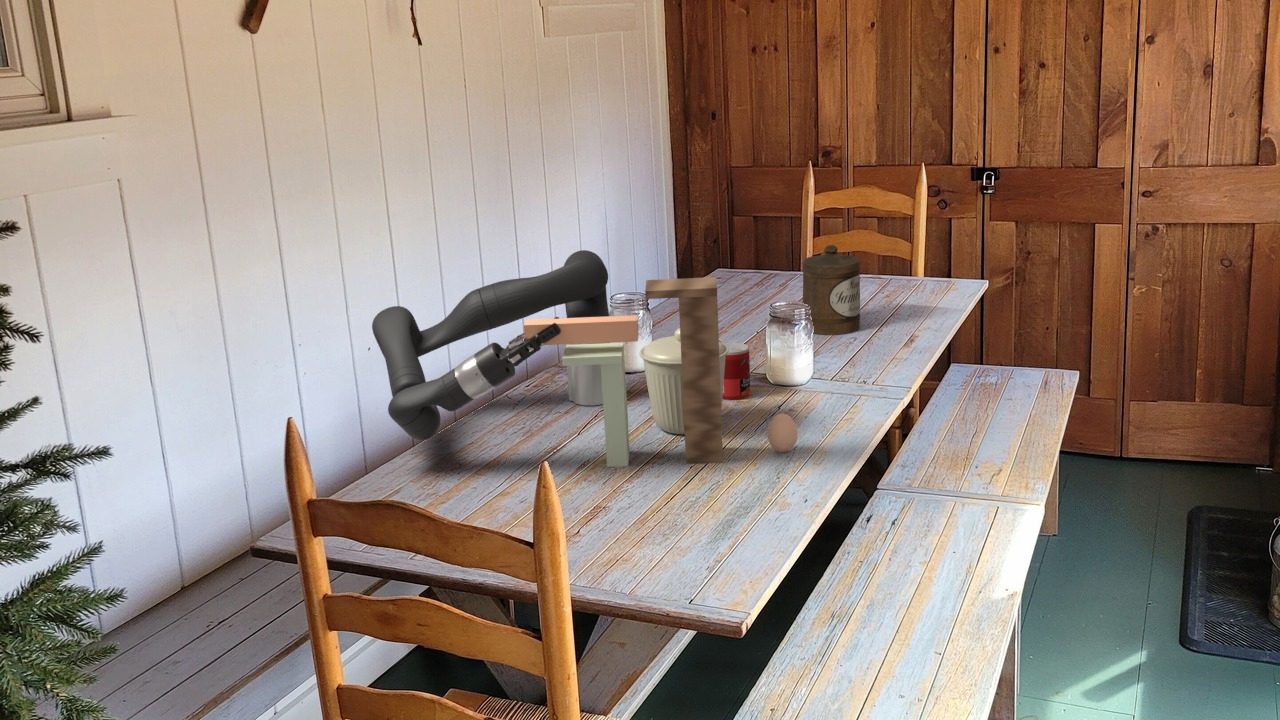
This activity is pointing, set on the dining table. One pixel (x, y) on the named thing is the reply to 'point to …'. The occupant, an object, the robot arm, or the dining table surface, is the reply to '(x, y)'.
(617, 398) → the sage ledge
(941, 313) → the dining table surface
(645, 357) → the canister
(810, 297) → the wooden container
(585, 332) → the peach rectangular bar
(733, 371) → the canned food
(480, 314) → the robot arm
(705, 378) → the walnut stand
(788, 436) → the egg
